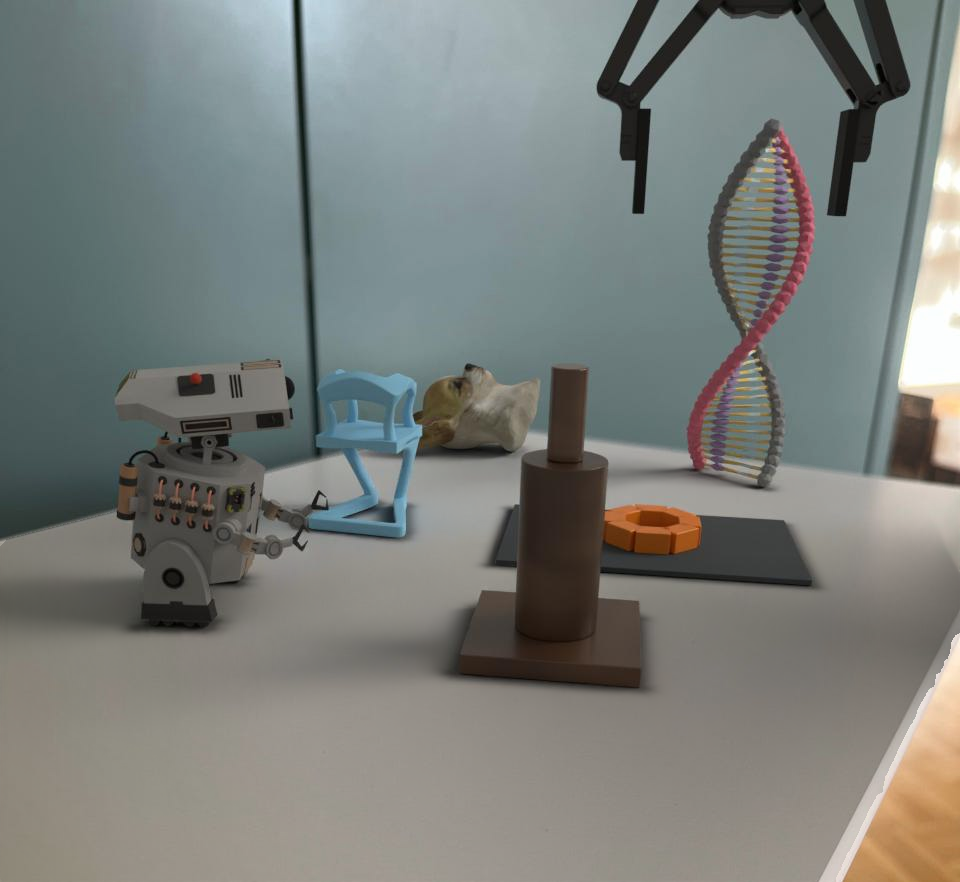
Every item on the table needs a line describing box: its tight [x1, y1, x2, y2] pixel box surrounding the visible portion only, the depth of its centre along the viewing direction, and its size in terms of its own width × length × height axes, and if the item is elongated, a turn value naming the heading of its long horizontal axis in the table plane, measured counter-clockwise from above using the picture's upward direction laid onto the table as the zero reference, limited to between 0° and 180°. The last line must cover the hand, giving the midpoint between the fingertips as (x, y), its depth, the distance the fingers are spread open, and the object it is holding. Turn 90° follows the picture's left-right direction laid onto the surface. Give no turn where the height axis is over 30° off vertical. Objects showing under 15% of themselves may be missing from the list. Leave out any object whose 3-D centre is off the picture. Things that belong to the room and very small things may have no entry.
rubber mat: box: [495, 503, 813, 586], centre depth 79 cm, size 22×14×1 cm, turn 83°
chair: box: [308, 368, 422, 539], centre depth 81 cm, size 8×8×12 cm
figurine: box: [114, 358, 330, 628], centre depth 63 cm, size 9×12×15 cm
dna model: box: [686, 118, 816, 488], centre depth 91 cm, size 9×9×30 cm
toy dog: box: [412, 362, 541, 452], centre depth 104 cm, size 11×9×15 cm
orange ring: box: [603, 503, 701, 555], centre depth 79 cm, size 7×7×2 cm
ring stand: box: [458, 362, 643, 688], centre depth 58 cm, size 10×10×16 cm
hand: (736, 215), depth 72 cm, fingers open, 13 cm apart
